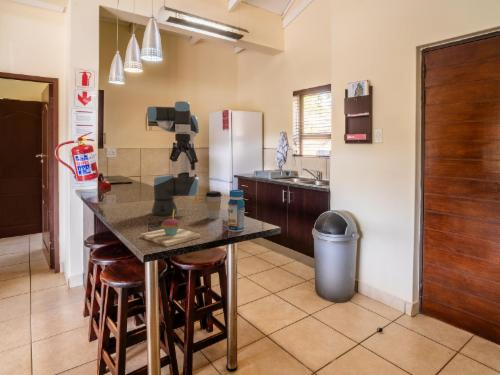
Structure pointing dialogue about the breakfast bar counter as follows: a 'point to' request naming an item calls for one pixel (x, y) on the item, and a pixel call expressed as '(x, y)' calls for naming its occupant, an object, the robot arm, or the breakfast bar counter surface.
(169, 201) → the robot arm
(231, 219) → the beverage bottle
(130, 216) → the breakfast bar counter surface
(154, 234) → the serving board
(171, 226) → the cupcake
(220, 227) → the breakfast bar counter surface
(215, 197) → the coffee cup
